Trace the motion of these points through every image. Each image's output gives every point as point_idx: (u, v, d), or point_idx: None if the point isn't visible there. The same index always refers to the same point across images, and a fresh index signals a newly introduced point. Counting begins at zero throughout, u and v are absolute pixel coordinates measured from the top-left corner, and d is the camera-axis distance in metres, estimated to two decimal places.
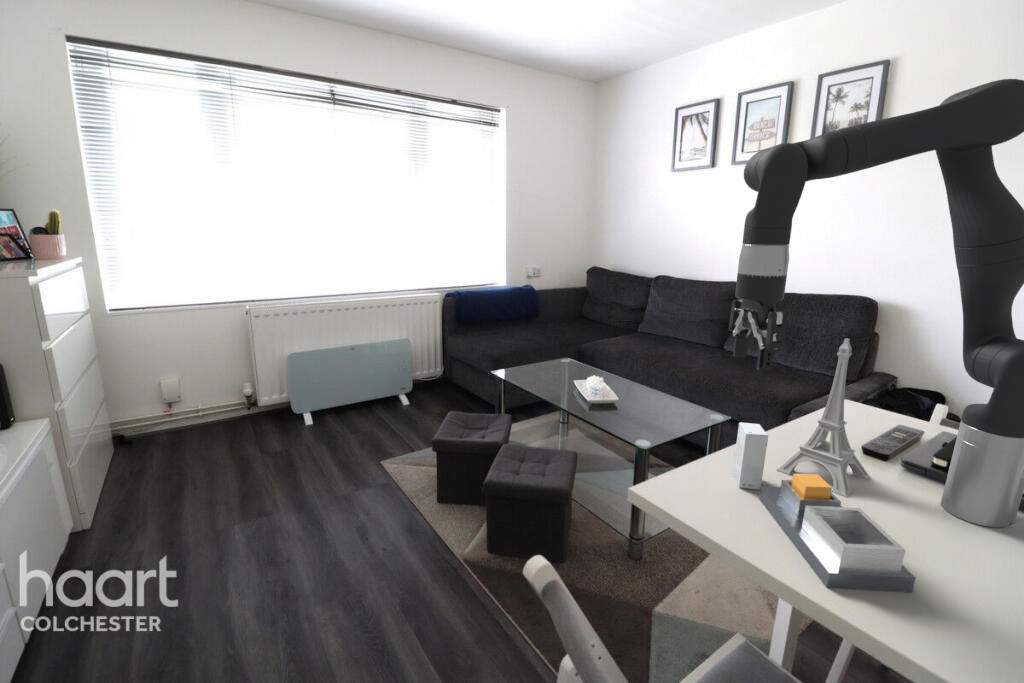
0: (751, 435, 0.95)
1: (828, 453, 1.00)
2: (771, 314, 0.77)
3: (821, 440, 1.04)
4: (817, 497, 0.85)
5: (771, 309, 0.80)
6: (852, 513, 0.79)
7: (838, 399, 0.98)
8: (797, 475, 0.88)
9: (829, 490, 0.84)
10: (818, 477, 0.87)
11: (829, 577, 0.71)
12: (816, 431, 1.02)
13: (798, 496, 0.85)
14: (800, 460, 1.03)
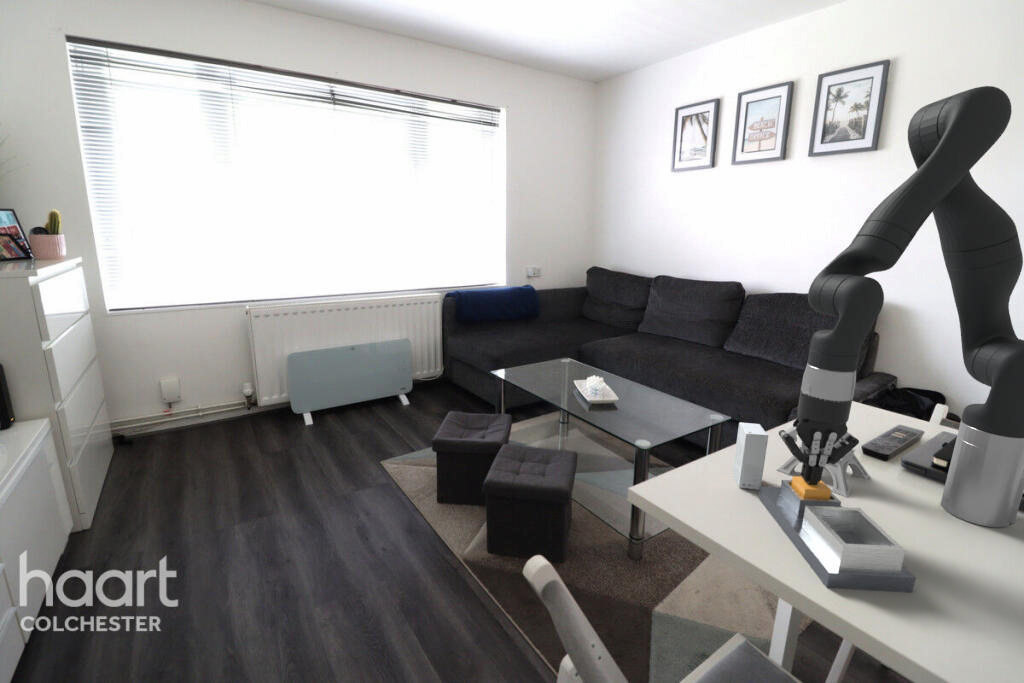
0: (751, 435, 0.95)
1: None
2: (857, 442, 0.83)
3: None
4: None
5: None
6: (852, 513, 0.79)
7: None
8: (797, 478, 0.88)
9: (829, 493, 0.84)
10: None
11: (829, 577, 0.71)
12: None
13: (798, 496, 0.85)
14: None
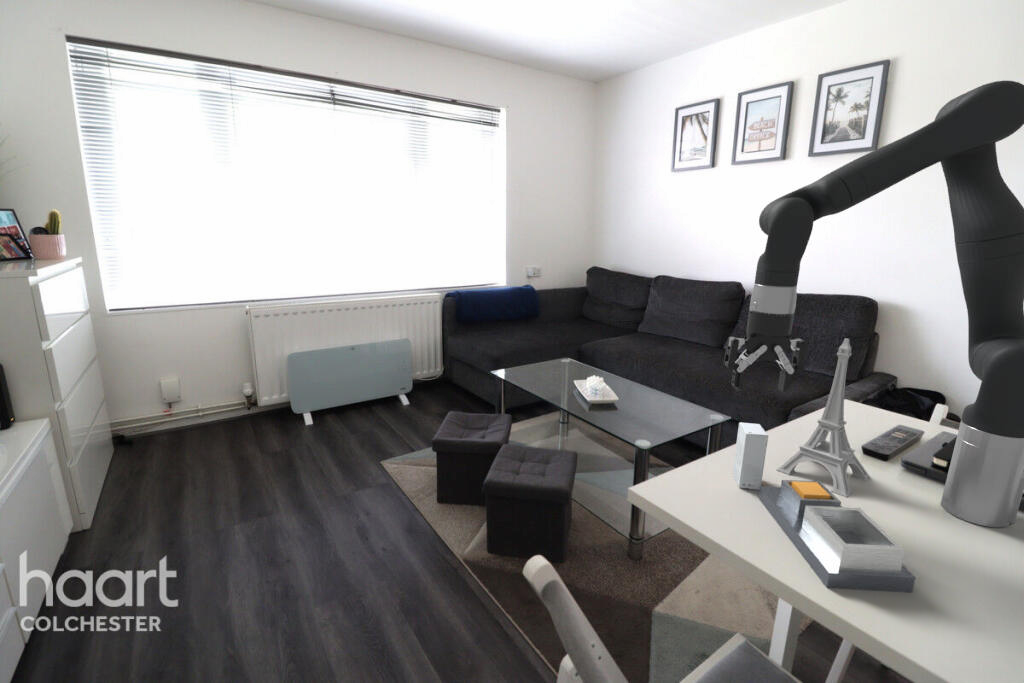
0: (751, 435, 0.95)
1: (828, 453, 1.00)
2: (805, 342, 0.91)
3: (821, 440, 1.05)
4: None
5: None
6: (852, 513, 0.79)
7: (837, 399, 0.99)
8: (796, 483, 0.88)
9: (828, 498, 0.85)
10: (817, 485, 0.88)
11: (829, 577, 0.71)
12: (816, 431, 1.02)
13: (798, 496, 0.85)
14: (800, 460, 1.03)
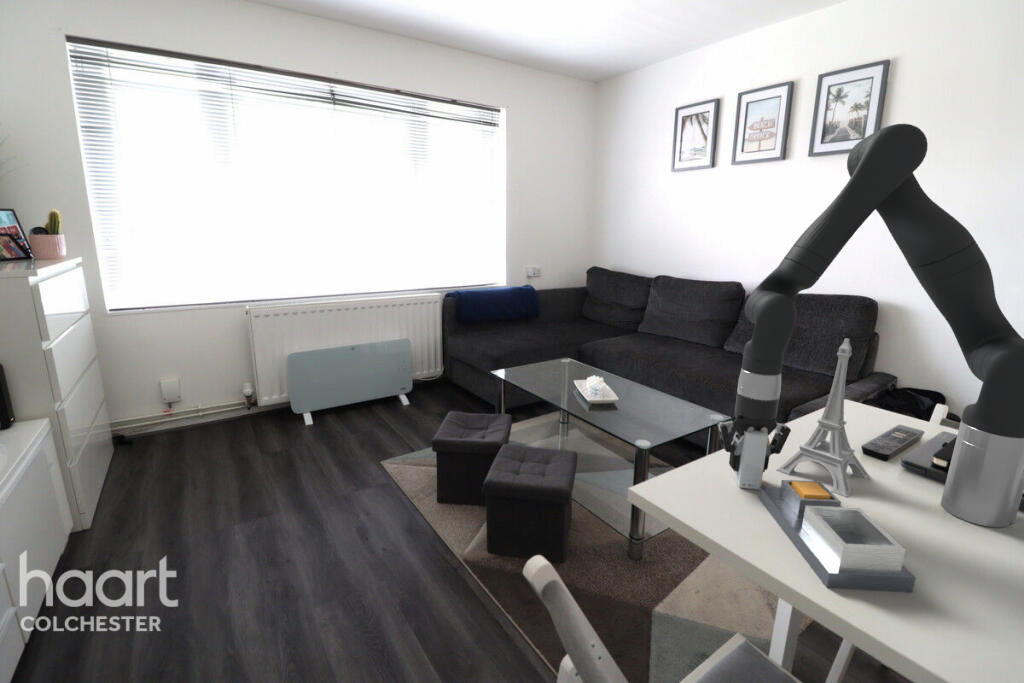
0: (751, 434, 0.95)
1: (828, 453, 1.00)
2: (789, 430, 0.96)
3: (821, 440, 1.05)
4: None
5: None
6: (852, 513, 0.79)
7: (838, 399, 0.99)
8: (796, 483, 0.88)
9: (828, 498, 0.85)
10: (817, 485, 0.88)
11: (829, 577, 0.71)
12: (816, 431, 1.02)
13: (798, 496, 0.85)
14: (800, 460, 1.03)
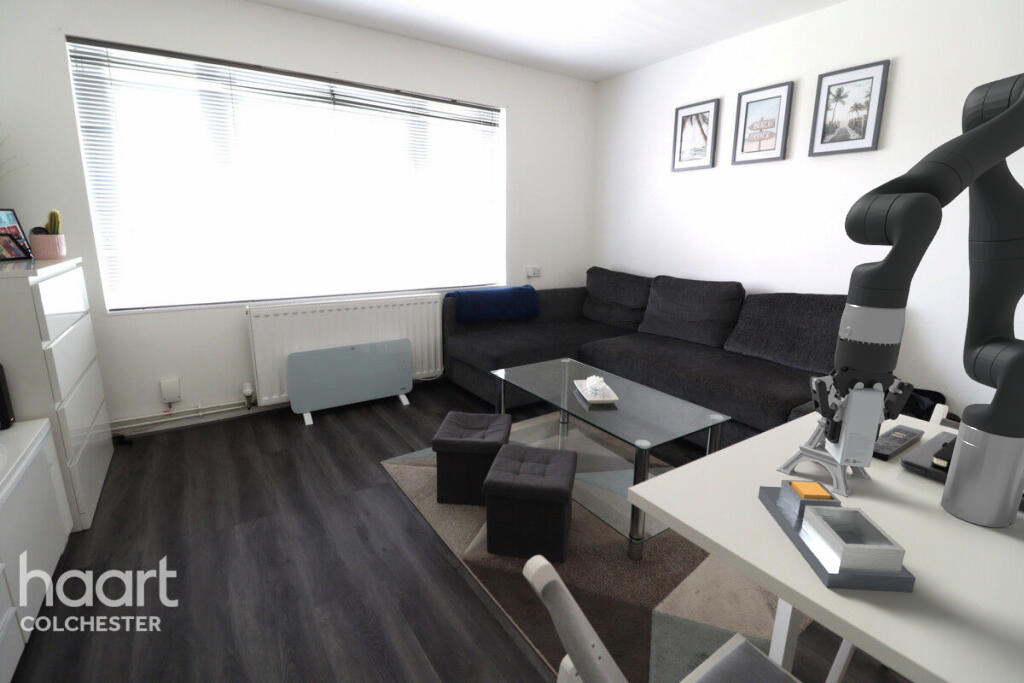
0: (860, 392, 0.70)
1: (828, 453, 1.00)
2: (912, 387, 0.71)
3: (821, 440, 1.05)
4: None
5: None
6: (852, 513, 0.79)
7: None
8: (796, 483, 0.88)
9: (828, 498, 0.85)
10: (817, 485, 0.88)
11: (829, 577, 0.71)
12: (816, 431, 1.02)
13: (798, 496, 0.85)
14: (800, 460, 1.03)
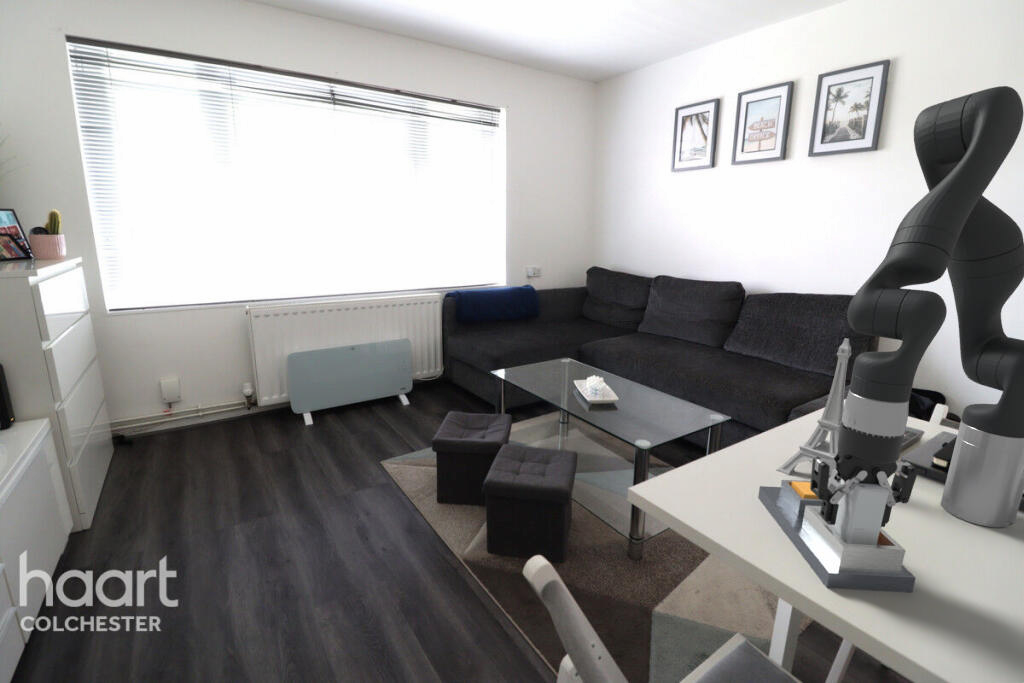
0: (865, 490, 0.71)
1: (828, 453, 1.00)
2: (916, 470, 0.71)
3: (821, 440, 1.05)
4: None
5: None
6: None
7: (837, 399, 0.99)
8: (796, 483, 0.88)
9: None
10: None
11: (829, 577, 0.71)
12: (816, 431, 1.02)
13: (798, 496, 0.85)
14: (800, 460, 1.03)
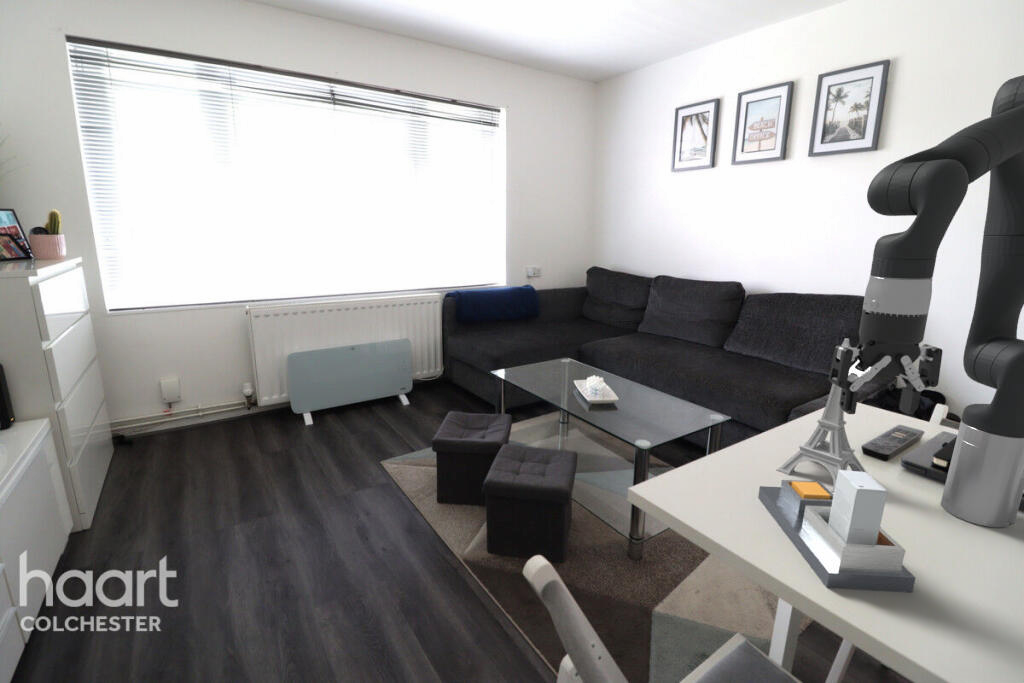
0: (864, 490, 0.71)
1: (828, 453, 1.00)
2: (940, 350, 0.70)
3: (821, 440, 1.05)
4: None
5: None
6: None
7: (837, 399, 0.99)
8: (796, 483, 0.88)
9: (828, 498, 0.85)
10: (817, 485, 0.88)
11: (829, 577, 0.71)
12: (816, 431, 1.02)
13: (798, 496, 0.85)
14: (800, 460, 1.03)
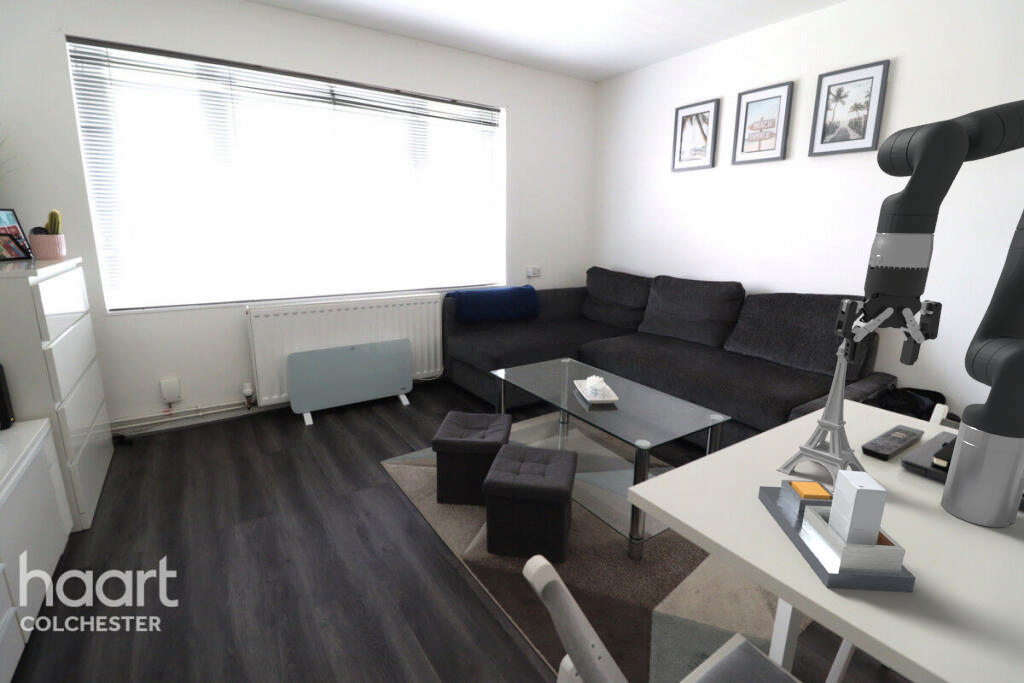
0: (864, 490, 0.71)
1: (828, 453, 1.00)
2: (940, 304, 0.75)
3: (821, 440, 1.05)
4: None
5: None
6: None
7: (837, 399, 0.99)
8: (796, 483, 0.88)
9: (828, 498, 0.85)
10: (817, 485, 0.88)
11: (829, 577, 0.71)
12: (816, 431, 1.02)
13: (798, 496, 0.85)
14: (800, 460, 1.03)
